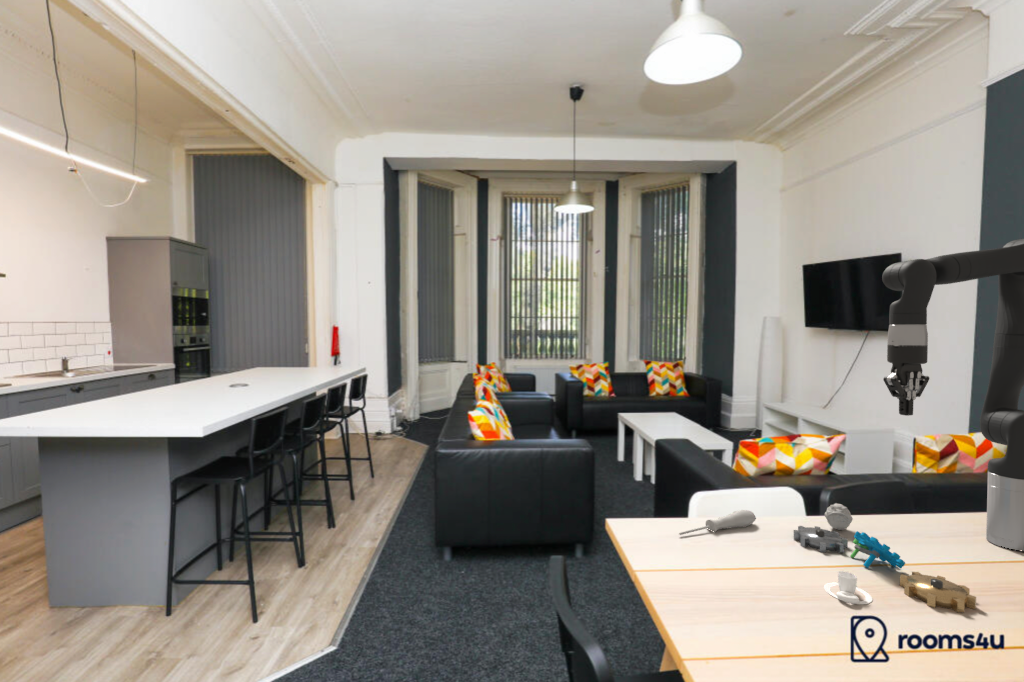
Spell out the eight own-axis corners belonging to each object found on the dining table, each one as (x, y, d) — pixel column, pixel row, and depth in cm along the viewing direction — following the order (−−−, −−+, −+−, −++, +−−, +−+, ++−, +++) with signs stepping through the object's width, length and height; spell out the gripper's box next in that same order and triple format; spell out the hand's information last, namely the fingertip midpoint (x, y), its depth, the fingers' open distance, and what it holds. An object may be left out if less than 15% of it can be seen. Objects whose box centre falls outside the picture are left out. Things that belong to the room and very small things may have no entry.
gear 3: (906, 575, 103) (906, 561, 103) (979, 597, 94) (979, 582, 94) (894, 594, 95) (894, 579, 95) (971, 620, 87) (972, 603, 87)
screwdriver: (673, 541, 124) (670, 524, 125) (747, 522, 133) (744, 506, 133) (686, 544, 119) (683, 526, 120) (761, 525, 128) (758, 508, 129)
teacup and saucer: (855, 612, 90) (856, 590, 90) (812, 591, 97) (813, 571, 97) (881, 600, 94) (881, 579, 94) (838, 581, 101) (838, 562, 101)
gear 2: (918, 569, 102) (883, 536, 102) (901, 591, 101) (867, 557, 102) (875, 553, 113) (844, 523, 113) (860, 572, 112) (829, 542, 112)
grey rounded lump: (824, 531, 125) (825, 505, 125) (824, 522, 131) (824, 497, 131) (853, 537, 122) (853, 509, 122) (851, 527, 128) (851, 501, 128)
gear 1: (816, 530, 126) (816, 519, 126) (858, 549, 115) (859, 537, 115) (783, 536, 122) (783, 524, 122) (824, 556, 112) (824, 543, 112)
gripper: (909, 343, 122) (907, 411, 122) (871, 343, 118) (870, 413, 118) (943, 343, 115) (942, 416, 115) (905, 344, 110) (903, 419, 111)
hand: (905, 414), depth 116 cm, fingers closed
